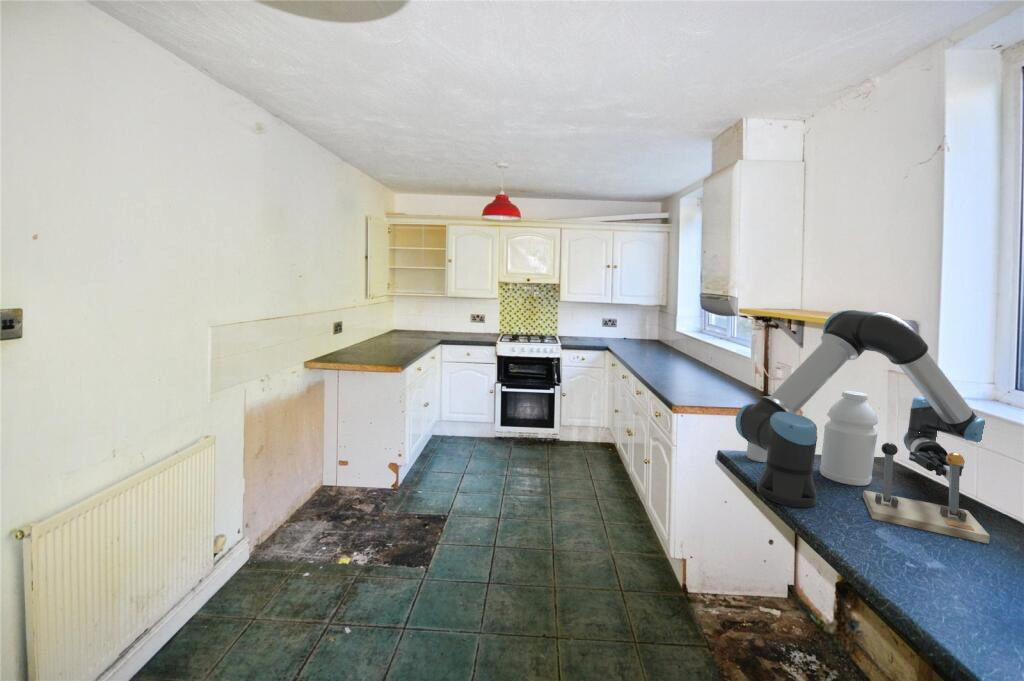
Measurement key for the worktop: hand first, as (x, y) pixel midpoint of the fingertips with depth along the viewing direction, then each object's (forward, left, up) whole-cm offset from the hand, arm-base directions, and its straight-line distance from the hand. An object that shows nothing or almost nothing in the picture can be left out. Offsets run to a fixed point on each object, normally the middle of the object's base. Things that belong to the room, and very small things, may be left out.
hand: (953, 477), depth 131 cm
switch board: (-7, -6, -11) cm, 14 cm away
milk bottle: (-47, +20, -11) cm, 52 cm away
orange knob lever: (-1, -6, -7) cm, 9 cm away
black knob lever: (-15, -6, -7) cm, 17 cm away
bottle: (-22, +17, -11) cm, 30 cm away
